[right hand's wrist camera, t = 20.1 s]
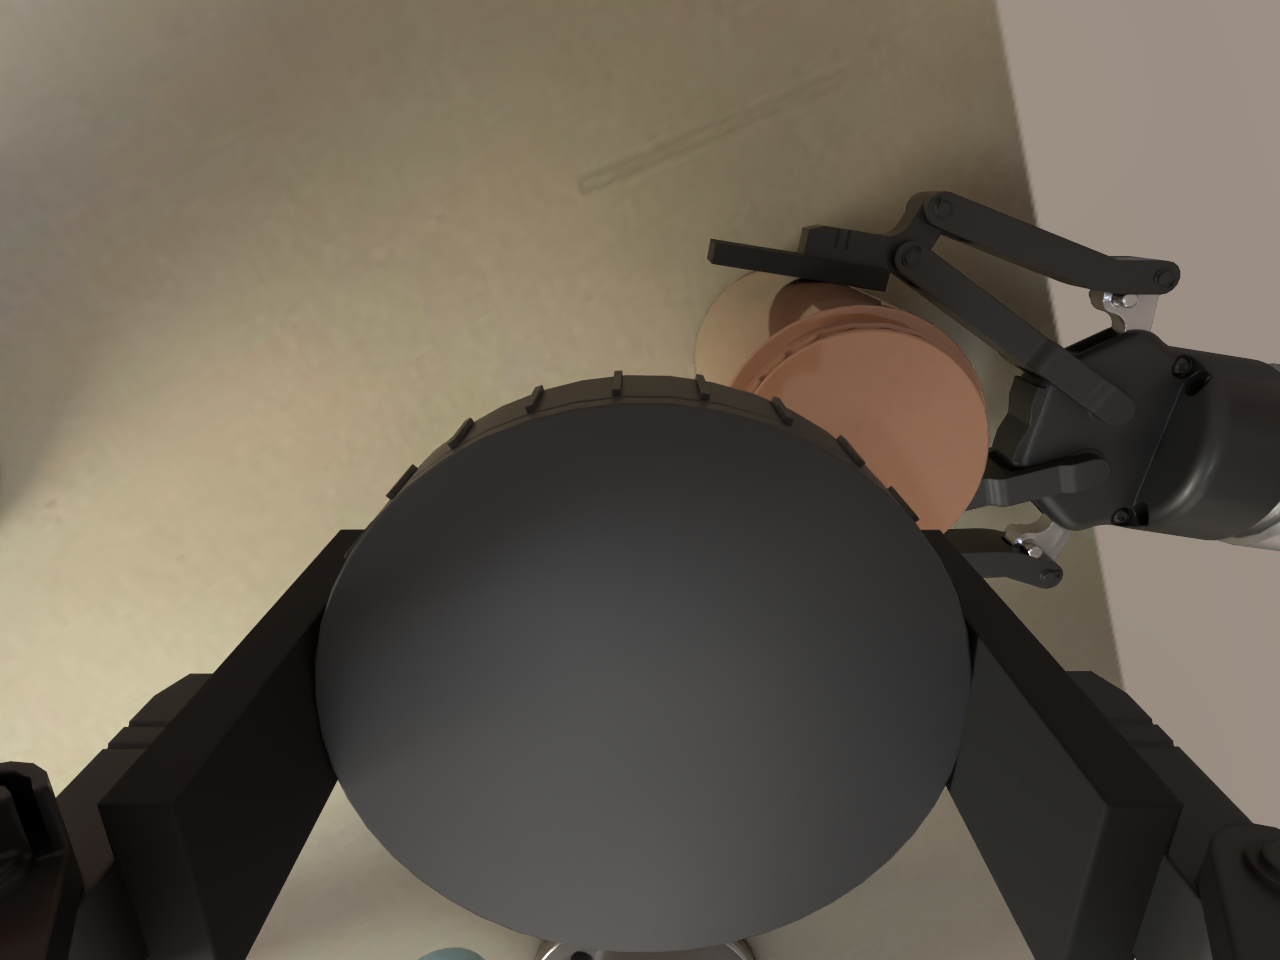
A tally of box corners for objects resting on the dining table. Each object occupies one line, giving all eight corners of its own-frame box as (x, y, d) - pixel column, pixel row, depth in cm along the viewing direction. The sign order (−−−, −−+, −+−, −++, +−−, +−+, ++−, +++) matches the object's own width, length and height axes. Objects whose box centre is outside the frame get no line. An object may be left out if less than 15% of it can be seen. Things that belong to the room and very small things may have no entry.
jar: (895, 289, 35) (1054, 352, 21) (837, 456, 38) (943, 609, 24) (721, 245, 35) (764, 279, 21) (675, 417, 38) (686, 550, 23)
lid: (484, 923, 14) (466, 1008, 13) (242, 481, 11) (180, 524, 10) (979, 804, 13) (1022, 880, 12) (866, 277, 10) (905, 292, 9)
